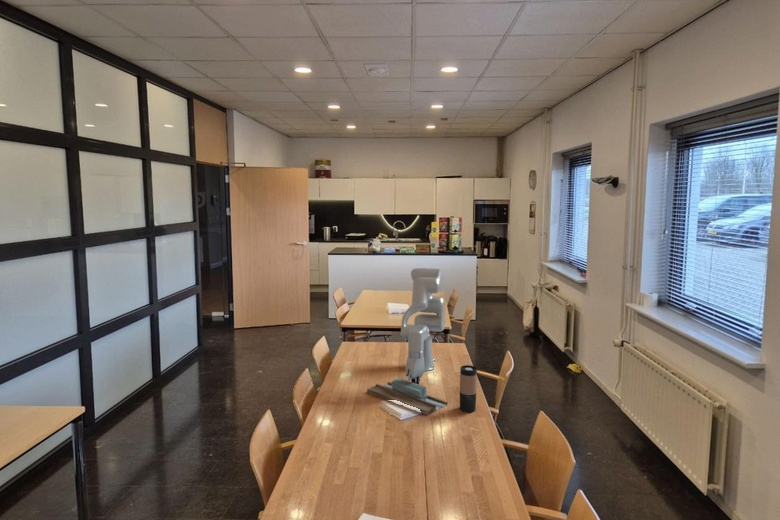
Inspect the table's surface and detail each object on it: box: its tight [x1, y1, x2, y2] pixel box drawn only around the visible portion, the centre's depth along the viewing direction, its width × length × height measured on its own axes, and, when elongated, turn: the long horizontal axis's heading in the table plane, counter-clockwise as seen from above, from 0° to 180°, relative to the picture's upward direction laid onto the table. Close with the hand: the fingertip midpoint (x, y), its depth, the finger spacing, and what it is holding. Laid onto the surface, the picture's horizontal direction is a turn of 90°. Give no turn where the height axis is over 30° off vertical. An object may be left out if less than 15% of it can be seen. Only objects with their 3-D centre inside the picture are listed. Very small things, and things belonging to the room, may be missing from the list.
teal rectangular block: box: [391, 377, 428, 400], centre depth 236 cm, size 5×18×6 cm, turn 47°
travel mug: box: [459, 364, 478, 414], centre depth 221 cm, size 8×8×20 cm
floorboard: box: [366, 381, 448, 416], centre depth 234 cm, size 16×38×3 cm, turn 47°
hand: (415, 389), depth 239 cm, fingers closed
